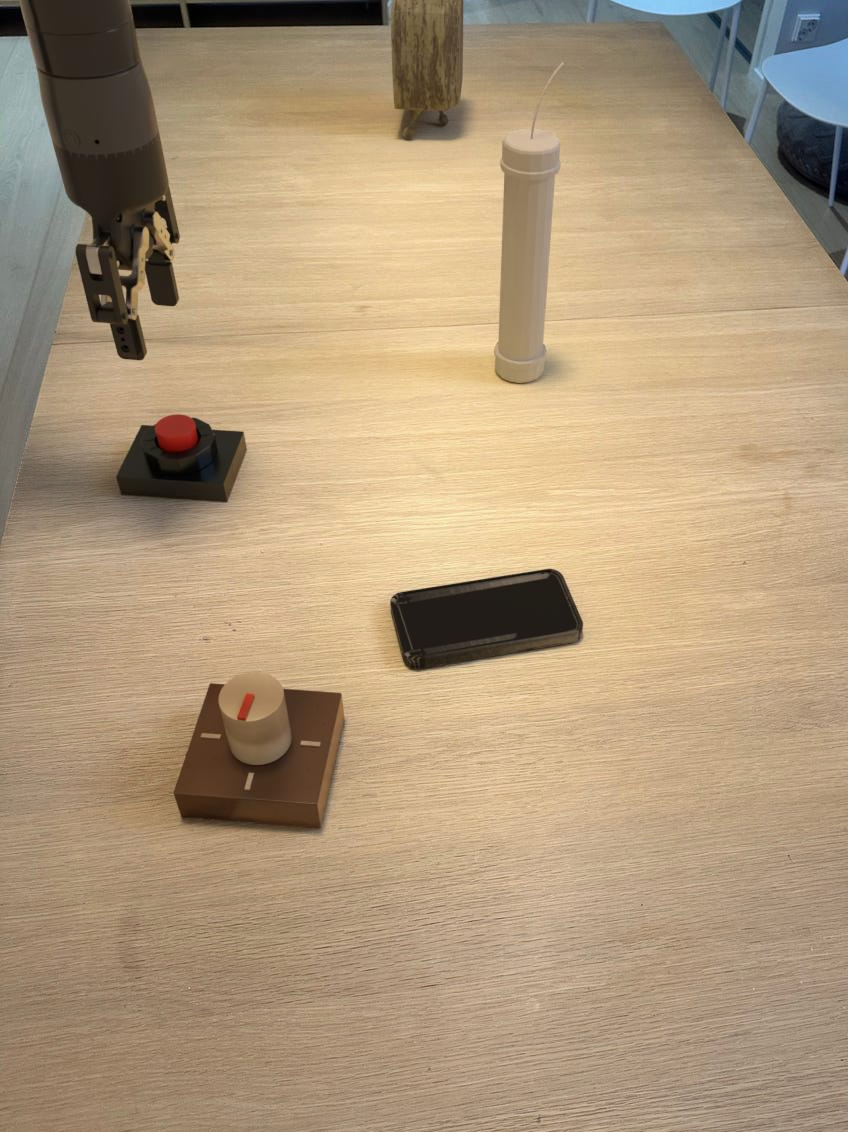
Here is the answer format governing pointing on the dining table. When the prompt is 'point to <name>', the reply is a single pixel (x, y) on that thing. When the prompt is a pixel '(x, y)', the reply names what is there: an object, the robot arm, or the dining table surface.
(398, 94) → the tabletop clock
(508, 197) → the dynamite stick
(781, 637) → the dining table surface
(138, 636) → the dining table surface
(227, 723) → the dial
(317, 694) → the panel
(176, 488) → the button block
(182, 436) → the button
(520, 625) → the phone
